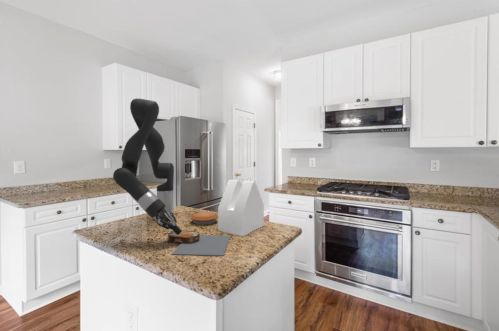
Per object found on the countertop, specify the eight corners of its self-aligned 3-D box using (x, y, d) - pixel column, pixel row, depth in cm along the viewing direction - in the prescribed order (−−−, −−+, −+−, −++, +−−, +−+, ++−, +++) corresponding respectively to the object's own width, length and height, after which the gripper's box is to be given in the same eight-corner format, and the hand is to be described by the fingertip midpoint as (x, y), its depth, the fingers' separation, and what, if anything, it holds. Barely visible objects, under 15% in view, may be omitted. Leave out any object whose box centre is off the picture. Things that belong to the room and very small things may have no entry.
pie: (189, 219, 143) (189, 211, 143) (216, 218, 147) (216, 209, 147) (190, 227, 128) (190, 218, 128) (219, 225, 132) (219, 216, 132)
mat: (171, 254, 93) (171, 253, 93) (188, 235, 115) (188, 234, 115) (223, 256, 92) (223, 255, 92) (230, 236, 114) (230, 235, 114)
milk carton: (243, 236, 115) (243, 183, 113) (218, 230, 123) (218, 181, 122) (263, 226, 131) (263, 180, 129) (240, 221, 139) (240, 178, 138)
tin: (163, 235, 108) (175, 228, 115) (164, 242, 108) (176, 234, 116) (192, 238, 102) (203, 230, 110) (192, 245, 102) (203, 237, 110)
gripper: (150, 201, 97) (181, 232, 97) (163, 195, 110) (190, 222, 110) (137, 214, 97) (168, 244, 97) (152, 206, 111) (179, 234, 111)
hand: (180, 233), depth 104 cm, fingers closed
